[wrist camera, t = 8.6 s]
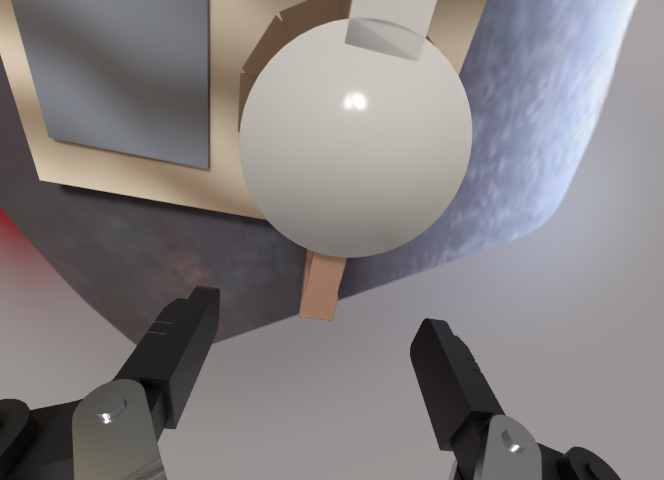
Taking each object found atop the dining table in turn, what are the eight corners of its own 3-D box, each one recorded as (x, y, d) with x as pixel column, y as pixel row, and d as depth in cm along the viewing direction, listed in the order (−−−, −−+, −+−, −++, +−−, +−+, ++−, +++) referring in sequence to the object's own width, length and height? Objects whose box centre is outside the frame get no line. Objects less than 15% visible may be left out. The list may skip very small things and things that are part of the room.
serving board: (-66, -257, 11) (-310, -469, 6) (499, -61, 14) (575, -121, 10) (55, 174, 19) (-19, 200, 15) (391, 234, 22) (407, 269, 18)
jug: (296, 16, 14) (246, -86, 5) (415, 47, 15) (542, 2, 6) (274, 210, 19) (232, 317, 11) (363, 226, 20) (391, 338, 11)
